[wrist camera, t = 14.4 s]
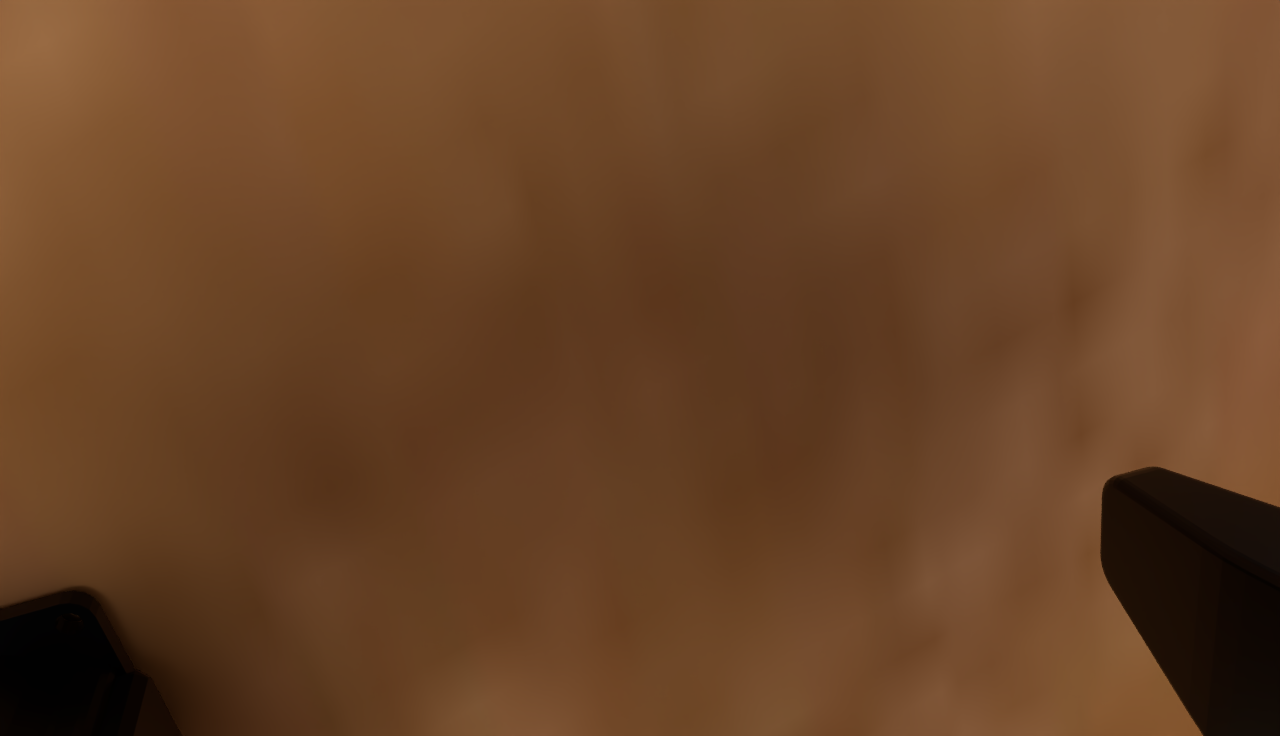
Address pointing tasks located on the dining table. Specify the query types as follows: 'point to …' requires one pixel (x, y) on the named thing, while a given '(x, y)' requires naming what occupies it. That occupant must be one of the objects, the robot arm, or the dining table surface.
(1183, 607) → the robot arm
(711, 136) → the dining table surface
